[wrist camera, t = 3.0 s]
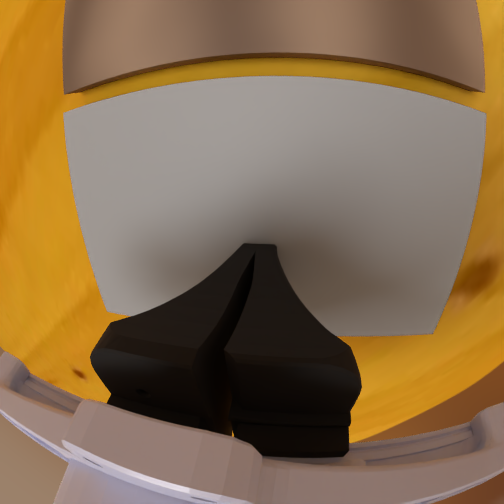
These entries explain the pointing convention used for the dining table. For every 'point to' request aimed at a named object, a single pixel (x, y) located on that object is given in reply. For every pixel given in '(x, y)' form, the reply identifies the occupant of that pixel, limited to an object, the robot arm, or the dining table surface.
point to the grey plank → (281, 193)
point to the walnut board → (271, 36)
